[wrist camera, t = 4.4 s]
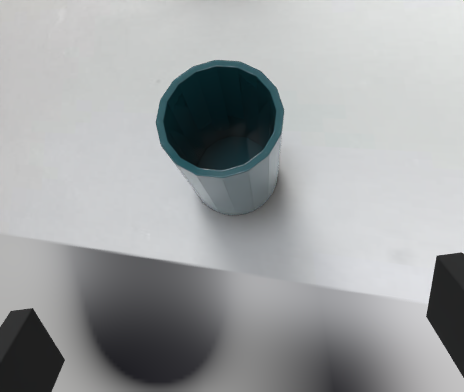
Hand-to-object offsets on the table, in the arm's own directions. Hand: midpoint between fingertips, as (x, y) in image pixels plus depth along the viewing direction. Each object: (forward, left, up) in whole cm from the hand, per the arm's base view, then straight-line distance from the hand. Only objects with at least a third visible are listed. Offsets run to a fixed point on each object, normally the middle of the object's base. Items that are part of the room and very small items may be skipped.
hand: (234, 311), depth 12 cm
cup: (-3, +10, -17) cm, 20 cm away
